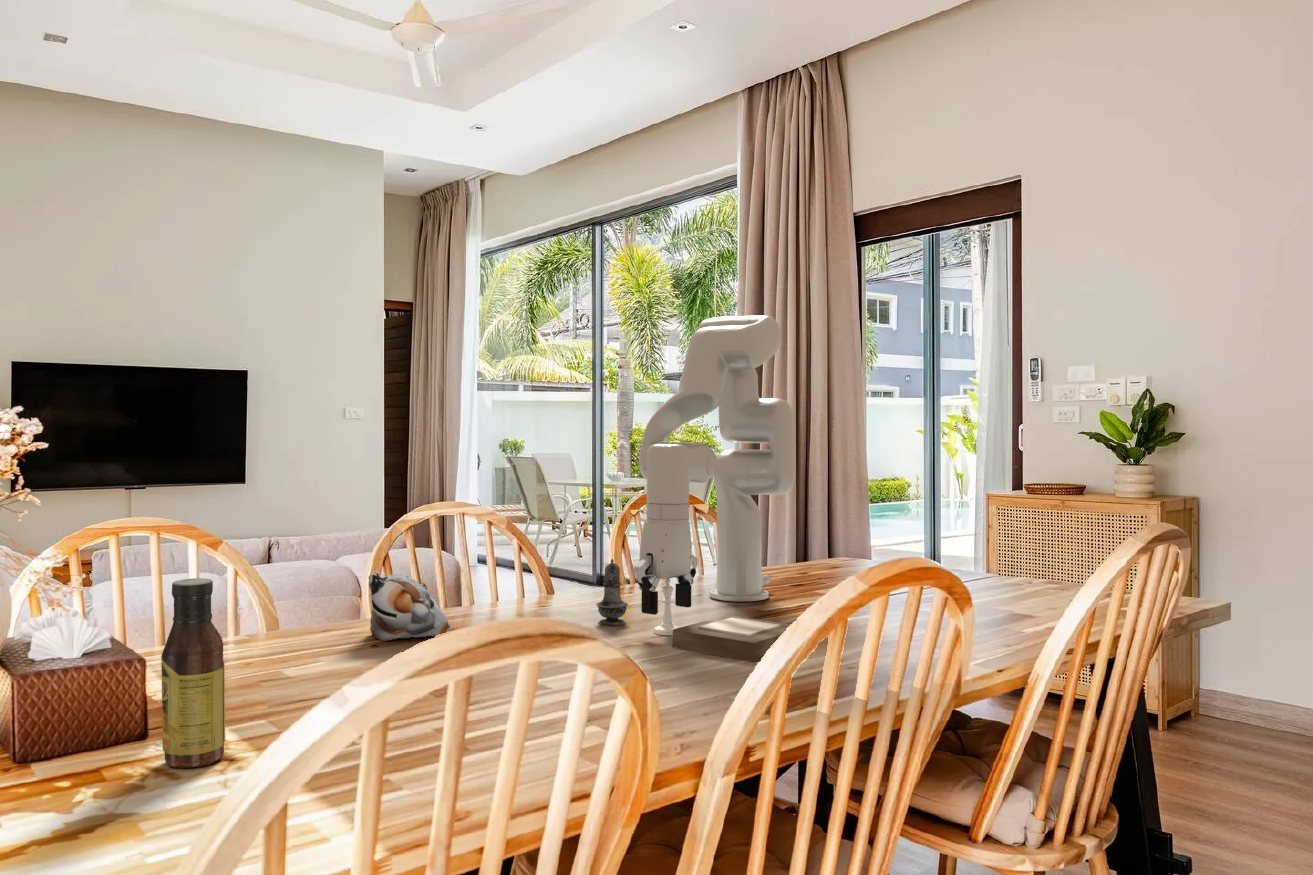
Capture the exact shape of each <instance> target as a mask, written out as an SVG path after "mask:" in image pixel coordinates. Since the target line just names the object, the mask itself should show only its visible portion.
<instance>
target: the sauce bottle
mask: <svg viewBox="0 0 1313 875" xmlns="http://www.w3.org/2000/svg"><path fill="white" fill-rule="evenodd" d="M213 582H214V581H213V580H212V579H211V578H205V577H196V578H195V577H194V578H186V579H180V580H179V579H178V580H175V581H173V582H172V584H171V595H172V598H173V617H172V621H173V623H172V626H171V629H170V631H169V634H168V637H167V639H166V642H165V645H164V647H163V651H162V653H161V656H160V658H161V663H160V664H161V716H162V717H161V726H162V727H161V729H162V730H161V731H162V750H163V752H164V760H165V763H166V764H167V766H168V767H170V768H182V769H186V768H187V769H188V768H199V767H200V768H201V767H205V766H208V765H211V764H212V763H215V762H217V761H219V760H221V759H222V757H223V756H224V754H225V741H226V687H225V686H226V685H225V684H226V683H225V682H226V681H225V679H226V678H225V677H226V676H225V669H226V668H225V661H224V642H223V637H222V636H221V634H220V633H219V631H218V629H217V628H216V627H215V624H214V623H213V622H212V619H213V614H212V594H213V592H214V584H213Z"/></svg>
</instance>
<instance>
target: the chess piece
mask: <svg viewBox="0 0 1313 875" xmlns="http://www.w3.org/2000/svg"><path fill="white" fill-rule="evenodd" d="M664 583H665V585H664V586H662V587H661V589H662V593H663V595H664V599H662V600H661V602H662V603H664V610H663V611H664V612H663V620H662V622H661V623H660V624H661V625H660V624H659V625H658V626H655V627H654V628H653V630H654V631H653V634H655V635H659V636H673V629H677V628H680V626H678V625H675V622H673V616H672V608H671V603H675V600H674V599H672V598H671V597H672V595H673V594H672V593H673V591H674V587H673V586H671V585H670V583H671V578H669V579H664Z"/></svg>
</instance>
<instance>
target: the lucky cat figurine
mask: <svg viewBox="0 0 1313 875" xmlns="http://www.w3.org/2000/svg"><path fill="white" fill-rule="evenodd" d="M368 586H369V588H370V592H371V593H370V594H371V596H370V597H371V606H372V610H371V617H370V626H369V627H370V628H369V629H370V630H369V631H370V634H371V636H372V637H373V638H375V639H377V638H378V640H379V641H381V642H382V641H383V642H385V641H386V642H389V641H388V640H390V641H393V640H392V639H394V640H398V639H397V638H399V639H410V637H414V638H428V637H427V636H432V637H431V638H436V637H435V636H436V635H438V634H442V633H445V632H446V633H447V631H448V629H450V628H451V624H450V623H449V621H448V618H447V617H446V615H445V614H444V612H442V610H441V608H440V607H439V604H438V603H437V601H436V600H435V599H434V598H432V597H431V594H430V593H429V591H428V586H427V585H426V583H425V582H417V581H416V580H415V579H413V578H412V577H410V576H409V575H405V574H390V575H386V576H384V577H382V576H380V575H379V573H377V572H374V573H372V574H370V575H368ZM446 633H445V634H446Z"/></svg>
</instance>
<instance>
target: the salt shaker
mask: <svg viewBox="0 0 1313 875" xmlns="http://www.w3.org/2000/svg"><path fill="white" fill-rule="evenodd" d="M614 562H615V561H614V559H613V558H611V559H610V563H608V564H607V565H605V566H604V582H603V583H602V585H603V588H604V589H603V593H604V594H603V597H602V598H603V599H602V600H601V601H600V602H597V603H596V604H595V605H596V607H597V610H598V614H599V615H600V616H601V617H602V618H603V619H600V620H599V621H598V622H597V624H598V625H599V626H602V627H603V626H604V627H621V626H625V625H627V621H625V620H624V619H623V618H622V617H623V616H624V615H625V614H626V611H627V606H629V603H628V602H625V601H624V600H622V597H621V596H622V595H621V586H622V582H621V581H620V580H621V578H620V577H621V576H620V575H621V574H620V573H621V572H620V571H621V570H620V569H621V567H620V566H619V565H618V564H616V563H614Z"/></svg>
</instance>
